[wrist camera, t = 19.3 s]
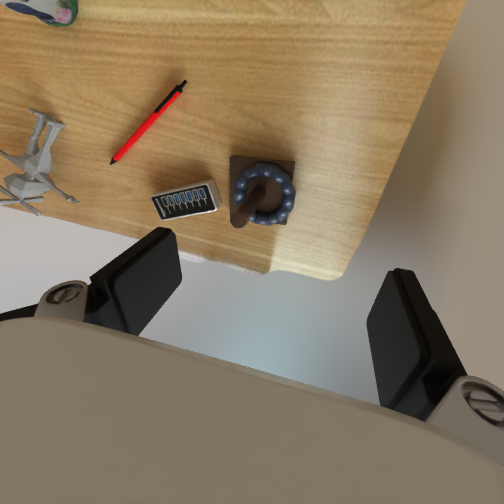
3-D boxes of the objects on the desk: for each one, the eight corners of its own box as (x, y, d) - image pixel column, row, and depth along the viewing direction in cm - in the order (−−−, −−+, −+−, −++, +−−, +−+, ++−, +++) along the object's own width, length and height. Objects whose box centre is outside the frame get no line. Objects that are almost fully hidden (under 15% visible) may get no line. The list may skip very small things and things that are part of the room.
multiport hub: (222, 205, 38) (217, 210, 36) (168, 215, 42) (160, 221, 40) (213, 178, 36) (207, 182, 34) (157, 191, 40) (148, 196, 38)
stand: (295, 161, 32) (283, 185, 23) (286, 222, 37) (274, 261, 28) (232, 155, 34) (197, 174, 25) (232, 213, 39) (203, 248, 29)
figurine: (85, 151, 35) (47, 237, 39) (121, 156, 43) (86, 227, 47) (-30, 69, 33) (-56, 170, 37) (30, 91, 41) (3, 172, 45)
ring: (300, 166, 31) (298, 168, 30) (290, 226, 36) (289, 230, 34) (236, 159, 33) (232, 161, 31) (235, 217, 37) (232, 221, 36)
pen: (190, 84, 30) (185, 84, 29) (114, 166, 39) (109, 167, 39) (185, 77, 30) (181, 77, 29) (110, 161, 39) (104, 163, 38)
